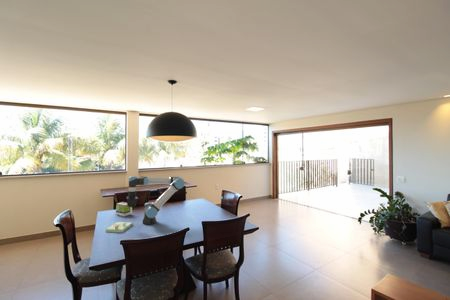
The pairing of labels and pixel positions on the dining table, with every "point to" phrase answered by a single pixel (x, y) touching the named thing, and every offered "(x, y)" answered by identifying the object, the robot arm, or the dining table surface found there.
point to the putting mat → (119, 227)
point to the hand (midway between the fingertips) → (131, 213)
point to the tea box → (122, 209)
